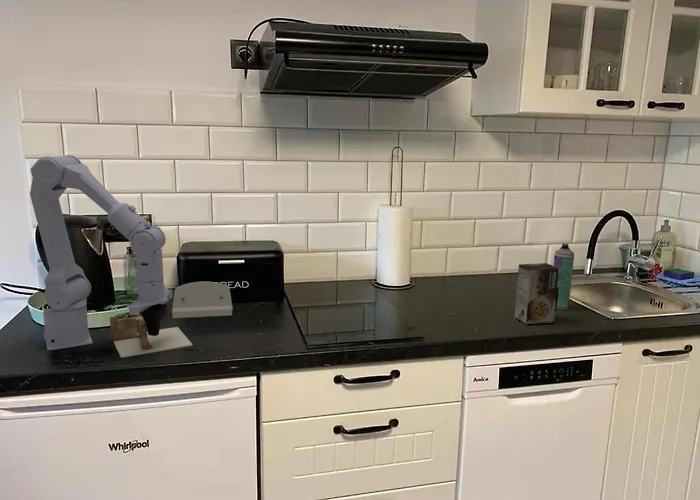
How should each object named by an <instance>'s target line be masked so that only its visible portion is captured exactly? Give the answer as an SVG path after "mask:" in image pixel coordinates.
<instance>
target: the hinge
mask: <svg viewBox="0 0 700 500" xmlns="http://www.w3.org/2000/svg"><path fill="white" fill-rule="evenodd" d="M172 298H173V299H172V300H173V301H172V308H171V313H172V315H171V316H172V319H181V318H202V317H203V318H204V317H224V316H225V317H226V316H233V311H234V307H233V302H232V295H231V290H230V287H229V286H228V285H226V284H223V283H220V282H213V281H195V282H194V281H193V282H189V283H184V284H181V285H179V286H177V287H175V289H174V291H173V297H172Z"/></svg>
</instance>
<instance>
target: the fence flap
mask: <svg viewBox="0 0 700 500" xmlns="http://www.w3.org/2000/svg"><path fill="white" fill-rule="evenodd" d="M137 331H138V333H139V336H140V345H141V348H147V347H148V338H147V325H146V323H145V321H144V319H143V317H142V316H141V314H140V313H139V315H137Z"/></svg>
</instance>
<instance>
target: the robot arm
mask: <svg viewBox="0 0 700 500" xmlns="http://www.w3.org/2000/svg"><path fill="white" fill-rule="evenodd" d="M30 174H31V177H32V180H31V185H30V191H29V197H30V201H31V205H32V208H33V212H34V216H35V219H36V223H37V228H38V231H39V234H40V235H39V236H40V238H41V242H42V246H43V249H44V253H45V257H46V261H47V265H48V268H49V271H47V274H46V277H45V278H44V280H43V281H44V284H45V285H44V287H45V291H44V296H43V297H44V301H45V302H46V304H47V305H48V307H50V308H45V309H43V310H42V311H43V312H42V315H43V324H44V325H43V326H44V333H43V341H45V345H46V350H47V351H53V350H54V351H55V350H61V349H66V348H67V349H68V348H74V347H79V346H87V345H91V344H93V340H92V338H91V334H90V331H89V323H88V309H87V302H88V301H87V300H88V299H87V298H88V297H89V295H91V291H92V285H91V283H90V280H89V279H88V278H87V277H86V275H85V273H84V270H83V268H81V267H80V266H79V265H78V264H77V263H76V261H75V257H74V254H73V250H72V246H71V241H70V238H69V233H68V230H67V226H66V222H65V218H64V214H63V210H62V207H61V202H60V198H61V196H62V195H63V194H64V193H65V191H66V190H67V189H73V190H79V191H81V192H82V193H83V194H84V195H86V197H88V198H89V199H90V200H92V201H93V202H94V204H96V205H97V206H98V207H100V208H101V209H102V210H103V211H105V213H106V214H107V221H108V222H109V223H110V224H111V226H113V227H114V228H115V229H116V230H117V231H118V232H119V233H120V234H122V235H123V236H124V238H125V239H127V240H128V241H129V245H130V249H131V251H132V252H133V253H134V254H135V260H136V261H135V262H136V264H135V265H136V277H137V294H138V295H137V296H138V298H136V299H135V301H134V302H133V303H132V304H131V305H129V306H128V314H129V315H130V316H131V315H132V316H138V315H139V313H140V314H141V316H142V317H143V320H144V323H145V325H147V331H148V335H151V336H157V335H159V330H160V326H161V322H162V318H163V316H164V314H165V312H166V309H167V305H166V303H168V302H169V299H172V298H173V289H165V285H164V284H165V283H164V282H165V281H164V266H163V265H164V262H163V249H162V248H163V247H164V246H165V244H166V236H165V233H164V232H163V230H162V229H161V227H159V226H156V225H152V223H151V222H150V221H147V220H146V219H144V218H143V217H142V216H141V214H140V213H138V212H137V211H136V210H137V208H136V207H135V206H134V205H133V204H132V205H130V204H129V203H127V202H126V203H124V202H123V203H121V202H119V201H118V200H117V199H116V198H115V197H114V196H113V194H111V193H110V192H109V191H108V190H107V188H106V187H105V186H103V184H102V183H101V182H100V181H99V180H97V178H96V177H95V176H94V175H93V174H92V172H91V171H90V169H89V167H88V166H87V165H86V164H84V163H83V162H82V161H81V160H80V159H79V158H78V157H76V156H74V155H70V154H68V155H64V156H63V155H61V156H59V155H58V156H49V155H47V156H42V157H40V158H38V159H37V160H36V162H35V163H34V164H32V167H31V168H30Z"/></svg>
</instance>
